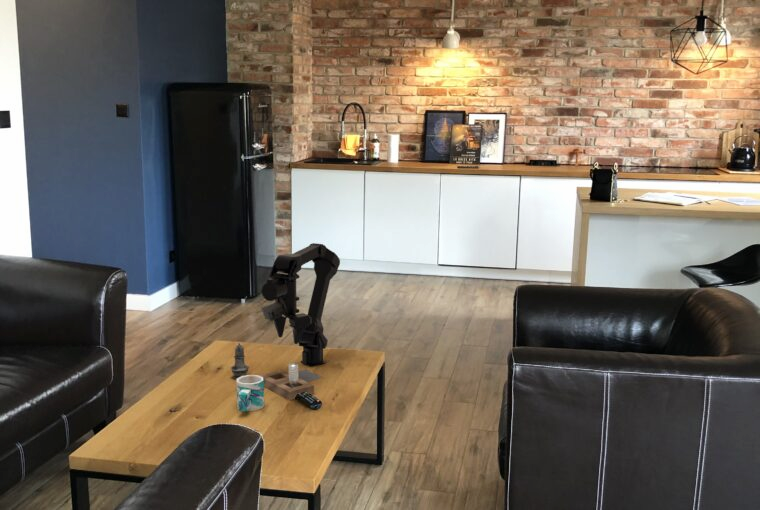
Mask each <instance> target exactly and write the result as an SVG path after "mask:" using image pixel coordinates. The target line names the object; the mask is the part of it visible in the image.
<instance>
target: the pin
mask: <svg viewBox="0 0 760 510" xmlns="http://www.w3.org/2000/svg"><path fill="white" fill-rule="evenodd" d="M298 371H299V364H298V363H297V362H290V363H288V373H289V387H290V388H294V387H298Z"/></svg>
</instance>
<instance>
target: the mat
mask: <svg viewBox="0 0 760 510" xmlns="http://www.w3.org/2000/svg"><path fill="white" fill-rule="evenodd" d="M298 378H300V379H302V380H304V381H306V382H308V383H309V382H311V381H315V380H319V379H322V378H323V377H322V376H321V375H318V374H317V373H314V372H312V371H310V370H308V369H306V368H305V369H301V370H298Z"/></svg>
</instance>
